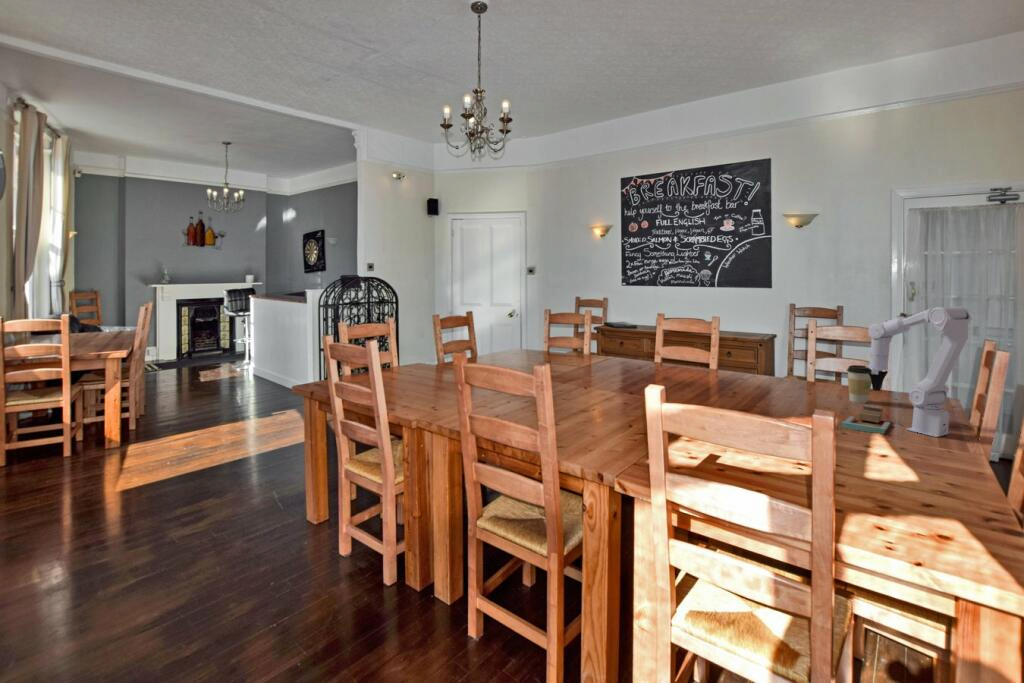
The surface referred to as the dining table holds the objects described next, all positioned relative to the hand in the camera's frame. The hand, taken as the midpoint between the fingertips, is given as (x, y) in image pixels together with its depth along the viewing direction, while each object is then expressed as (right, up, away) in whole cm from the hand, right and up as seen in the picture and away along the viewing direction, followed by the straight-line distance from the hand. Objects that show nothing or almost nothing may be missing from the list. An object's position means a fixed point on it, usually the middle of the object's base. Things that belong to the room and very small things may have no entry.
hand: (876, 390), depth 202 cm
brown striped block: (-5, -11, -4) cm, 13 cm away
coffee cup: (+9, -7, +25) cm, 28 cm away
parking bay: (-12, -12, -12) cm, 21 cm away
